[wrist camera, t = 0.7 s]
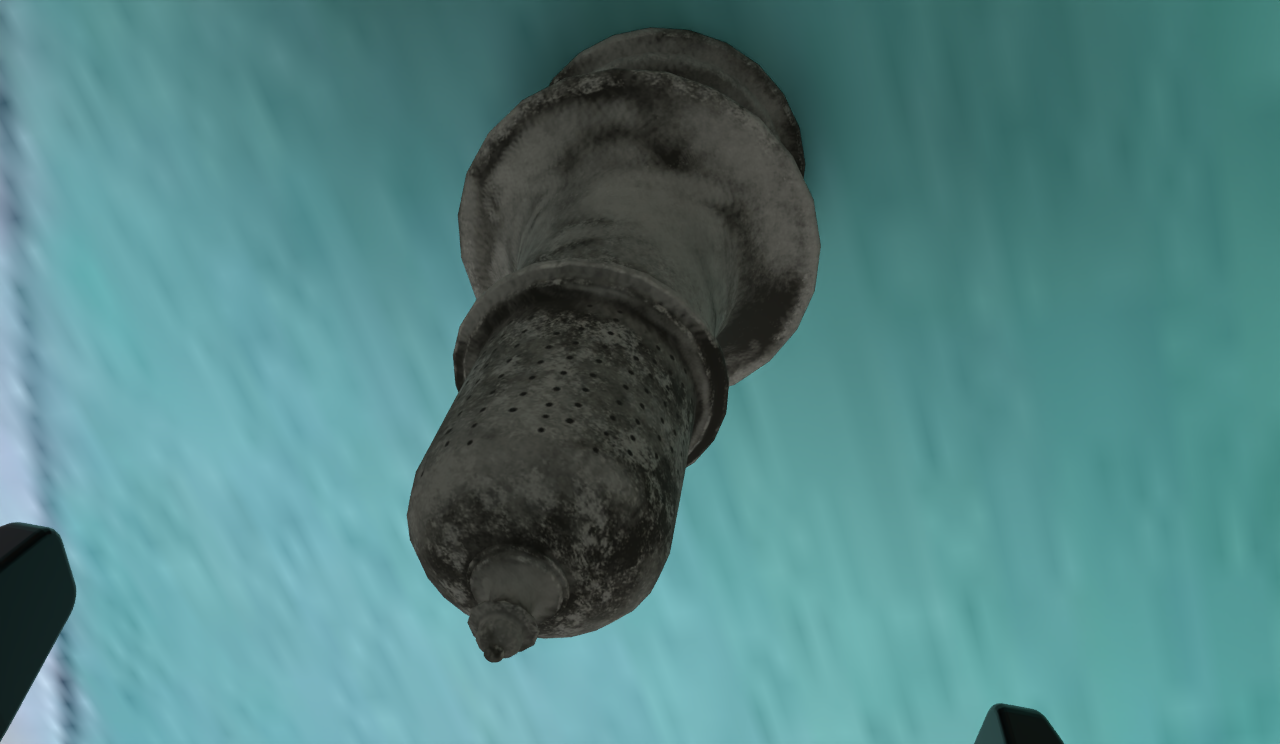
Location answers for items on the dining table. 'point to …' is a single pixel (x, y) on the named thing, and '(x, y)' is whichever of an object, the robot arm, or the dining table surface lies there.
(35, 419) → the dining table surface
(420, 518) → the salt shaker
